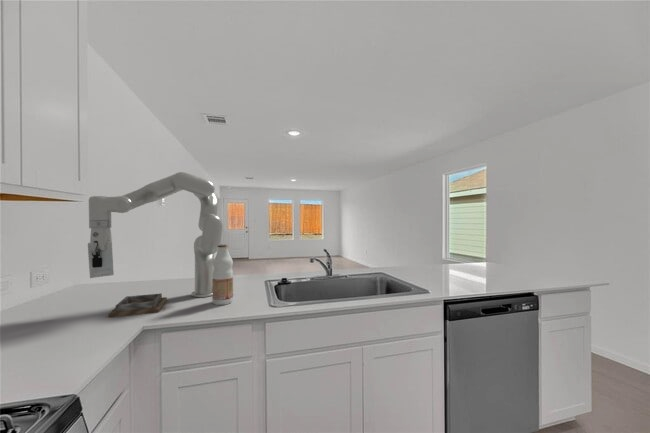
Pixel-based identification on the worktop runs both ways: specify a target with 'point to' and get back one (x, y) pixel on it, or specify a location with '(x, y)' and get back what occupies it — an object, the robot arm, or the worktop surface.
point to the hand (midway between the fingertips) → (101, 265)
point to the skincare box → (106, 262)
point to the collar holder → (139, 305)
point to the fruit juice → (222, 277)
